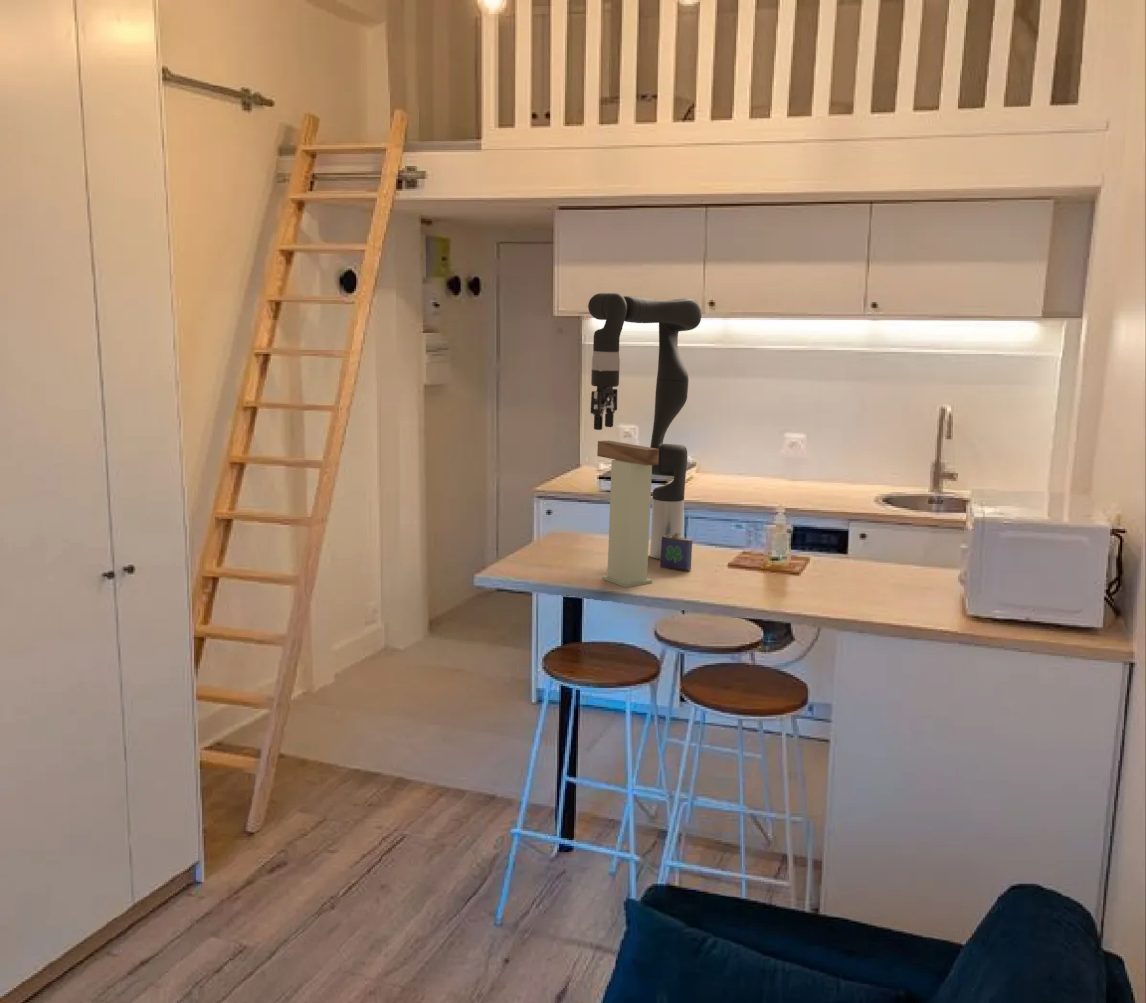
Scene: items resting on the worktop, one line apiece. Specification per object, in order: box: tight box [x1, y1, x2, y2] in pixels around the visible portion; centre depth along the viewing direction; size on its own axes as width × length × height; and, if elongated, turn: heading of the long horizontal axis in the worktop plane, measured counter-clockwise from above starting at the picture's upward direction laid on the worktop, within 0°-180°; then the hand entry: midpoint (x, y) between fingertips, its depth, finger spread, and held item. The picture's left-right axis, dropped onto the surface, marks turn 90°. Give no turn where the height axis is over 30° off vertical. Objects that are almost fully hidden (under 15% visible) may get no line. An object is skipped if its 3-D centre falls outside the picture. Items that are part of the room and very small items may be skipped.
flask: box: [659, 532, 693, 572], centre depth 283 cm, size 9×3×11 cm, turn 60°
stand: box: [601, 459, 653, 588], centre depth 266 cm, size 9×10×32 cm
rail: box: [596, 440, 659, 466], centre depth 265 cm, size 4×20×4 cm, turn 37°
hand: (603, 428), depth 277 cm, fingers open, 8 cm apart
